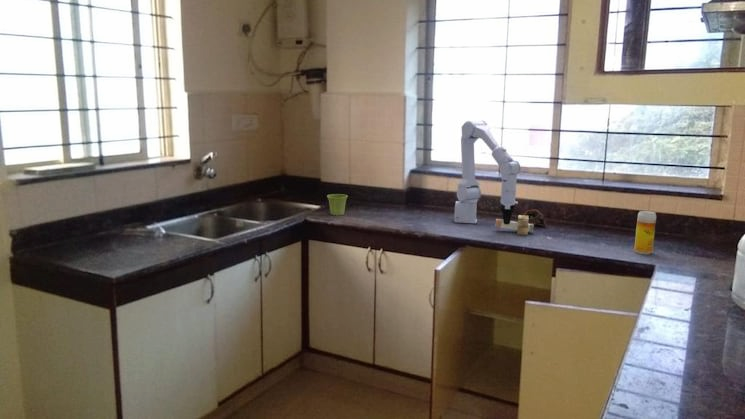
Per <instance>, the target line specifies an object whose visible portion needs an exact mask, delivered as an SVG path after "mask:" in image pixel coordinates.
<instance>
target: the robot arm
mask: <svg viewBox="0 0 745 419" xmlns="http://www.w3.org/2000/svg"><path fill="white" fill-rule="evenodd" d="M490 129H491V128H490V126H489V125H488V123H487V122H486V121H485V120H474V121H471V120H467V121H465V122H464V123H463V124H462V126H461V137H460V138H461V139H460V145H461V146H460V147H461V148H460V149H461V174H462V177H461V178H462V179H461V181H459V182H458V184H457V191H456V198H457V200H456V201H455V205H454V214H453V217H454V223H460V224H461V223H464V224H465V223H466V224H477V222H478V219H477V204H478V203H477V202H479V200H480V199H481V196H482V190H481V187H480V182H479V181H478V180H476V172H475V171H476V168H475V167H476V166H475V165H476V163H475V143H476V142H477V141H478V140H479V139H481V140H482V141H483V143H485V145H486V146H487V147H488V148H489V149H490V150H491V156H492V158H493V159H494V161H495V162H496V164H497V165H498V167H499V172H500V175H501V176H500V177H501V192H500V193H501V194H500V195H501V196H500V204H501V205H500V210H501V214H502V218H503V219H502V220H503V222H504V224H509V223H510V221H512V220H511V218H512V215H513V213H514V211H515V207H516V205H518V204H519V202H518V200H517V201H516V192H517V180H518V179H517V178H518V174H520V172H521V165H520V163H519V161H518V160H515V159H513V157H511V156H510V154H509V153H508V151H507V148H505V147H504V146H500V145H499V144H498V142H497V140H496V139H495V137H494V135H493V134H492V132H491V130H490Z"/></svg>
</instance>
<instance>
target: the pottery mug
mask: <svg viewBox="0 0 745 419" xmlns="http://www.w3.org/2000/svg"><path fill="white" fill-rule="evenodd" d="M523 215H525V216H528V218H529V220H528V224H533V225H534V224H535V225H536V226H537V225H542V226H544V228H546V227H547V226H546V225H547V224H546V221H545V216H544V214H542V213H541V212H540V211H539V210H537V209H529V210H527V211H526V212H524V214H523Z"/></svg>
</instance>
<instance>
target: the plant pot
mask: <svg viewBox="0 0 745 419" xmlns="http://www.w3.org/2000/svg"><path fill="white" fill-rule="evenodd" d="M326 197H327V200H328V204H329V211H330V215H332V216H335V215H336V216H338V215H339V216H344V215H345V208H346V202H347V198H348V197H349V196H348V195H347V194H343V193H342V194H341V193H336V194H335V193H334V194H333V193H332V194H328V195H326Z"/></svg>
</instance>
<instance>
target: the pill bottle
mask: <svg viewBox="0 0 745 419" xmlns="http://www.w3.org/2000/svg"><path fill="white" fill-rule="evenodd" d="M636 220H637V221H636V228H635V238H634V239H635V240H634V248H633V250H634V252H635V253H636V254H640V255H651V254H652V253H653V250H654V241H655V234H656V233H655V232H656V222H657V214H656V211H655V212H654V211H652V210H639V212H638V213H637V219H636Z"/></svg>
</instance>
